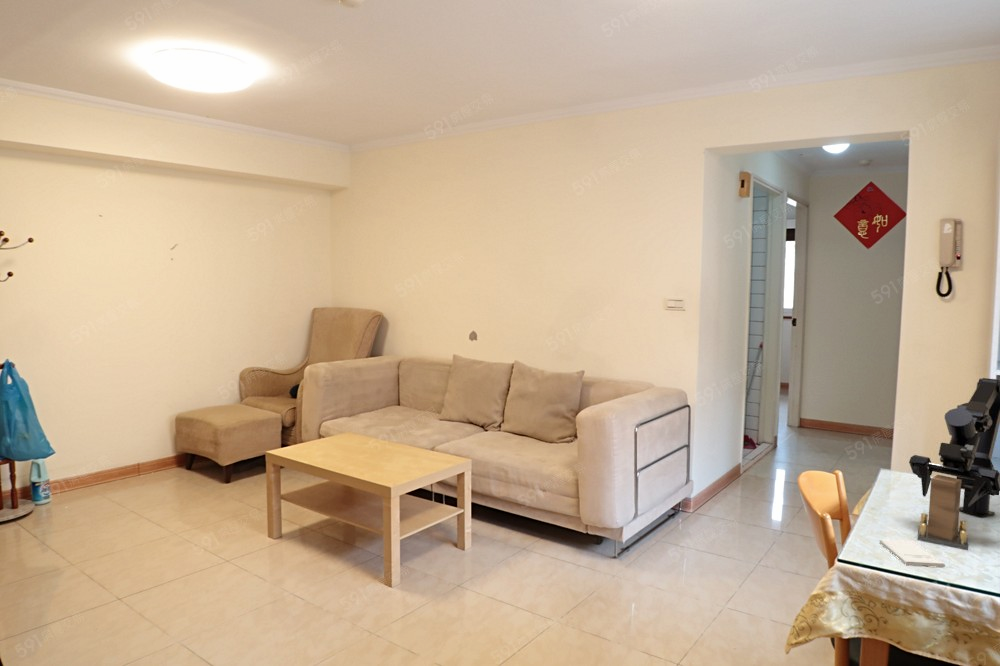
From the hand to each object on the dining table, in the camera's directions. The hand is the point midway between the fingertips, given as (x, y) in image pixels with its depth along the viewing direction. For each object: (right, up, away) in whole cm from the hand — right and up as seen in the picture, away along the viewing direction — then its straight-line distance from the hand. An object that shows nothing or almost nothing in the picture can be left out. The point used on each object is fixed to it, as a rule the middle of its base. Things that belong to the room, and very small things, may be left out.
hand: (945, 500), depth 158 cm
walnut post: (0, -9, +1) cm, 8 cm away
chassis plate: (0, -10, +1) cm, 10 cm away
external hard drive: (-15, -11, -9) cm, 20 cm away
